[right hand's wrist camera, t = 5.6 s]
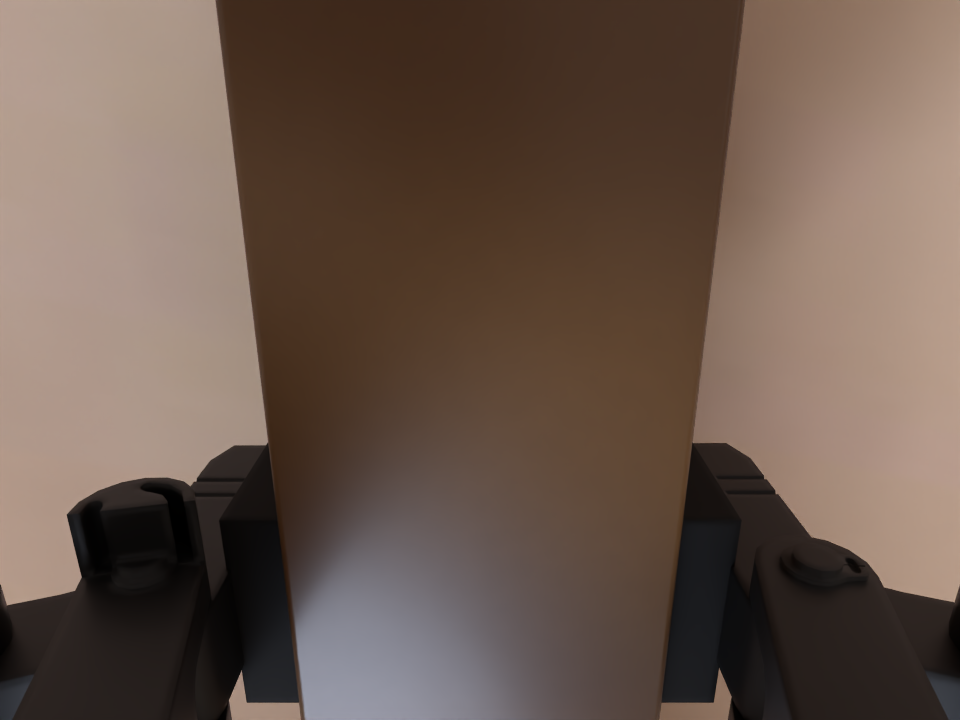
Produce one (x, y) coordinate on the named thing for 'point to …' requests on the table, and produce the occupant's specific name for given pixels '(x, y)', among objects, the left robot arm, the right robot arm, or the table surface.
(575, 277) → the post
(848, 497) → the table surface
